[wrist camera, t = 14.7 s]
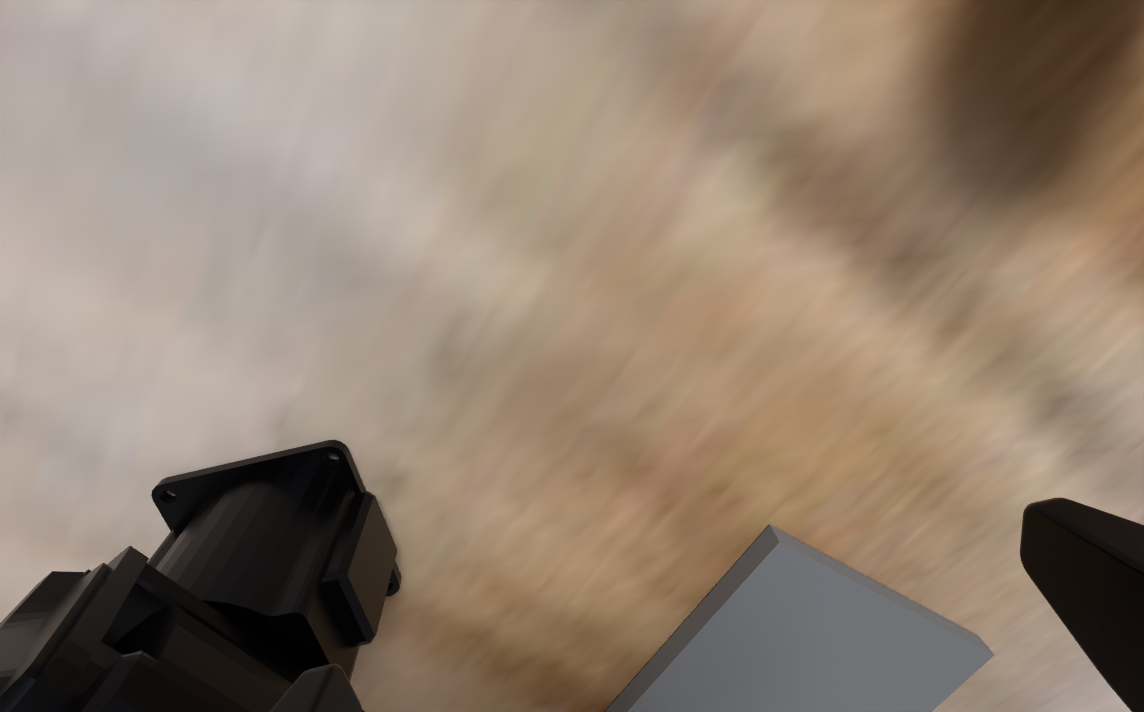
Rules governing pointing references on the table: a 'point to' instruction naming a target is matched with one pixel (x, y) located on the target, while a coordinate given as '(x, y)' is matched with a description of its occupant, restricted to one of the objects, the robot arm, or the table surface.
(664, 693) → the board
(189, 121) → the table surface
